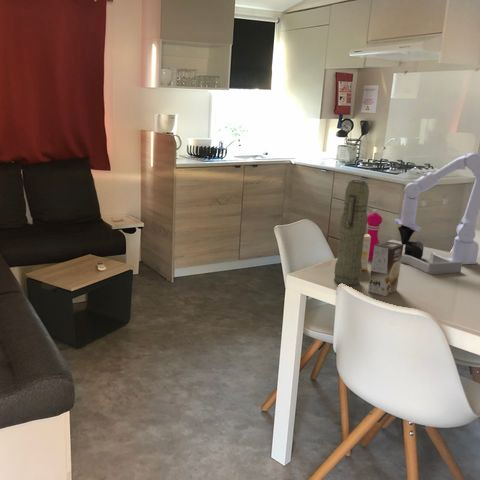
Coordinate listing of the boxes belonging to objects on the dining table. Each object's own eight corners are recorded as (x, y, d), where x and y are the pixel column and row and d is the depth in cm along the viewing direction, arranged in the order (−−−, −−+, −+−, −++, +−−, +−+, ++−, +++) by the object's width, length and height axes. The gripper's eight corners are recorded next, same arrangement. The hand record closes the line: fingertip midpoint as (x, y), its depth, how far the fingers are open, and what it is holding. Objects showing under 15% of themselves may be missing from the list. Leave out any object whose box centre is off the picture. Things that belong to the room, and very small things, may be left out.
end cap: (421, 263, 214) (423, 247, 213) (402, 260, 217) (405, 244, 215) (422, 257, 223) (424, 241, 222) (404, 254, 226) (406, 239, 224)
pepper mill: (378, 261, 214) (385, 211, 209) (360, 259, 215) (366, 210, 210) (378, 256, 221) (384, 208, 216) (360, 254, 222) (366, 206, 217)
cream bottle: (365, 267, 205) (369, 233, 202) (367, 271, 200) (371, 237, 197) (343, 265, 206) (347, 232, 202) (344, 269, 201) (348, 235, 198)
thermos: (362, 279, 190) (375, 180, 182) (355, 288, 180) (368, 184, 171) (338, 274, 194) (349, 177, 185) (329, 284, 183) (341, 181, 174)
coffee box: (385, 296, 174) (392, 249, 170) (367, 291, 178) (373, 244, 174) (397, 290, 181) (404, 244, 177) (379, 285, 185) (385, 240, 181)
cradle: (432, 258, 222) (434, 249, 221) (463, 271, 207) (465, 261, 206) (397, 261, 216) (399, 251, 215) (427, 274, 200) (428, 264, 199)
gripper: (390, 208, 227) (386, 240, 230) (412, 216, 214) (407, 249, 217) (403, 208, 229) (399, 239, 233) (426, 216, 216) (421, 248, 220)
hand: (404, 244), depth 225 cm, fingers closed
